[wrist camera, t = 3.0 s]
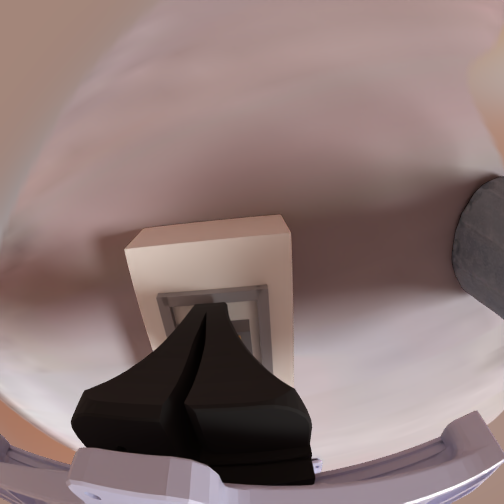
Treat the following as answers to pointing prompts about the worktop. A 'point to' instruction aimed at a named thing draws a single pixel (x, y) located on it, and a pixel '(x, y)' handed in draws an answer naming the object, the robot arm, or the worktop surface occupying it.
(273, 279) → the power strip
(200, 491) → the robot arm
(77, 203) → the worktop surface
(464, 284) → the moka pot
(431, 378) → the worktop surface
